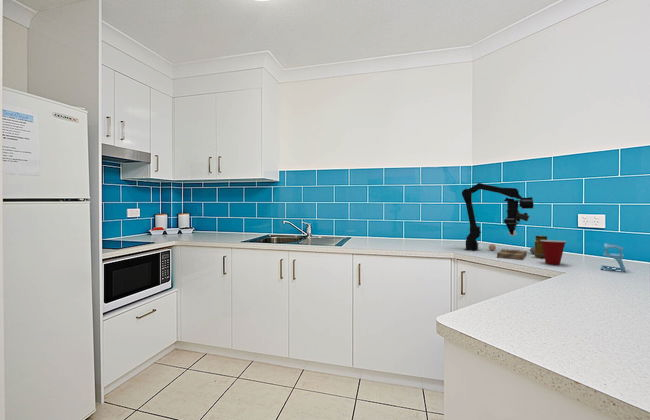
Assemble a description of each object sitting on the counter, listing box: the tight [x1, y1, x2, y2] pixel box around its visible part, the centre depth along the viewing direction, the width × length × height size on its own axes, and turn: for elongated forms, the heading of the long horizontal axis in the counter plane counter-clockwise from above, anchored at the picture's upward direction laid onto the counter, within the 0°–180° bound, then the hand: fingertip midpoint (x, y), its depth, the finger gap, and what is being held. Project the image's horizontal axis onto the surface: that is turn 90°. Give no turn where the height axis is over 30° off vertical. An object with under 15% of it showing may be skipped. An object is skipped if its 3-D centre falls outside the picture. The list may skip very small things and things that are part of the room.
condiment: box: [532, 235, 548, 260], centre depth 168 cm, size 7×8×12 cm
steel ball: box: [508, 229, 517, 237], centre depth 186 cm, size 4×4×4 cm
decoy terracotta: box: [488, 243, 497, 251], centre depth 193 cm, size 4×4×4 cm
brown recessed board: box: [496, 248, 527, 261], centre depth 173 cm, size 12×16×2 cm
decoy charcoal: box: [529, 246, 535, 255], centre depth 179 cm, size 4×4×4 cm
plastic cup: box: [540, 239, 567, 266], centre depth 153 cm, size 11×11×12 cm
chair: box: [600, 242, 627, 272], centre depth 138 cm, size 8×8×12 cm
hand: (512, 234), depth 186 cm, fingers closed on steel ball, 4 cm apart
